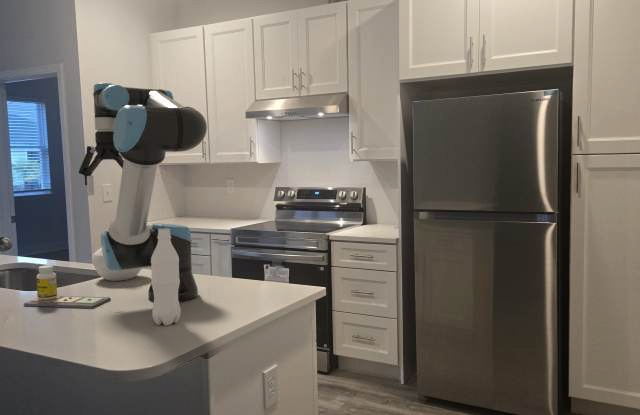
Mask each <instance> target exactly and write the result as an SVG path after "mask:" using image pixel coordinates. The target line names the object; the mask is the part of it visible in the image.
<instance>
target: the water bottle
mask: <svg viewBox="0 0 640 415" xmlns="http://www.w3.org/2000/svg"><path fill="white" fill-rule="evenodd" d="M170 235H171V234H170V229H169V228H163V229H158V237H157V238H158V244H157V246H156V248H155V250H154V252H153V254H152V257H151V269H150V270H151V280H150V281H151V282H150V285H152V288H153V292H154V301H153V306H152V310H151V312H152V315H151V316H152V319H153V321H154V323H155V324H156V325H158V326H159V325H160V326H161V325H162V324H163V325H164V326H166V327H168V326H171V325H172V324H177V323H178V322H179V321H180V318H181V313H182V312H181V311H182V310H181V306H180V302H179V301H178V289H179V284H180V279H179V257H178V254H177V252H176V250H175V249H174V247H173V245H172V243H171V239H170V238H171V236H170Z"/></svg>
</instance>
